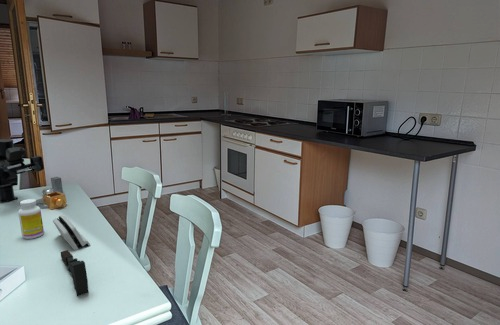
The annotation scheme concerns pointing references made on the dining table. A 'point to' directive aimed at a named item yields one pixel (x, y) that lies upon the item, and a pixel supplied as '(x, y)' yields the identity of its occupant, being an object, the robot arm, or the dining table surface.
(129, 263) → the dining table surface
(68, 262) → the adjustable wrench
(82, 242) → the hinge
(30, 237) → the supplement bottle
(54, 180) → the tall grey box
